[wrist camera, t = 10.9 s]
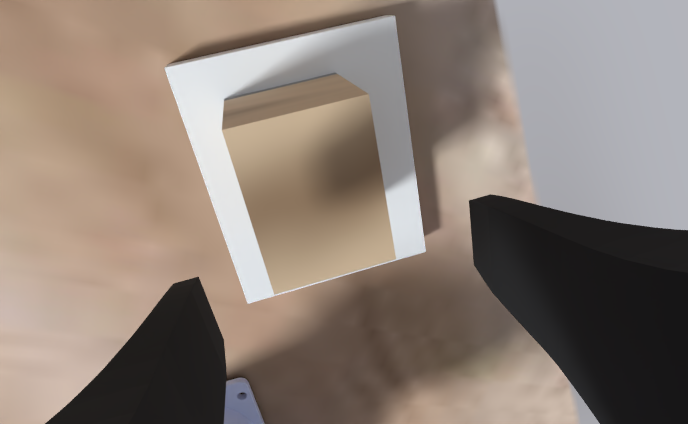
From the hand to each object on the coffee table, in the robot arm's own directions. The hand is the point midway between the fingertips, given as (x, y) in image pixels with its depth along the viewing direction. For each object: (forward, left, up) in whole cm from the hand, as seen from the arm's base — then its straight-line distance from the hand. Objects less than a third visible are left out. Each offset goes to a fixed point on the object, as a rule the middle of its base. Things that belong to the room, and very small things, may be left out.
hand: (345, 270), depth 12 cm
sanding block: (0, 0, -9) cm, 9 cm away
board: (-1, 0, -10) cm, 10 cm away
